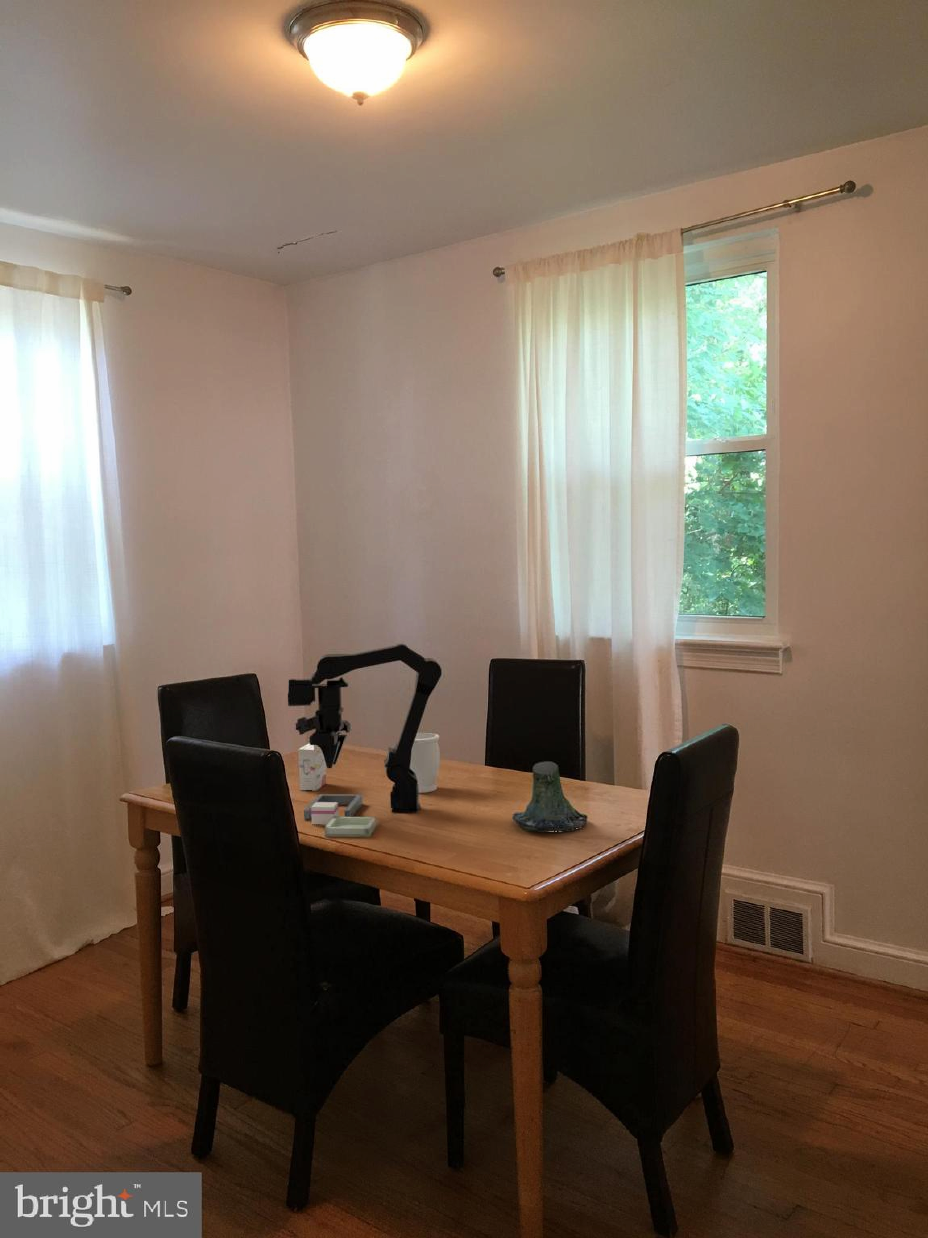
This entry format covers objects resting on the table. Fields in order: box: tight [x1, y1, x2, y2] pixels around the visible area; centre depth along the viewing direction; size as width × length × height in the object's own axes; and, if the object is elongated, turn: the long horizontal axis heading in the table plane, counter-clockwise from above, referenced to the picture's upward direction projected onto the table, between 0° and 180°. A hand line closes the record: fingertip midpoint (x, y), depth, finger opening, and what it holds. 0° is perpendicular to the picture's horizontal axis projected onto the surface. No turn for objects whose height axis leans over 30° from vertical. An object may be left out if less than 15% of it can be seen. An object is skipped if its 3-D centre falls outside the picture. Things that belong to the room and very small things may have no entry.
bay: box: [303, 793, 363, 821], centre depth 247 cm, size 11×15×2 cm
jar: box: [410, 732, 441, 794], centre depth 268 cm, size 11×10×15 cm
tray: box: [323, 816, 378, 838], centre depth 231 cm, size 10×10×2 cm
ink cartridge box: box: [297, 742, 327, 792], centre depth 273 cm, size 9×5×15 cm, turn 168°
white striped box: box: [310, 802, 339, 826], centre depth 238 cm, size 6×4×4 cm
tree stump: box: [511, 761, 588, 832], centre depth 232 cm, size 18×20×18 cm
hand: (331, 766), depth 246 cm, fingers open, 4 cm apart
